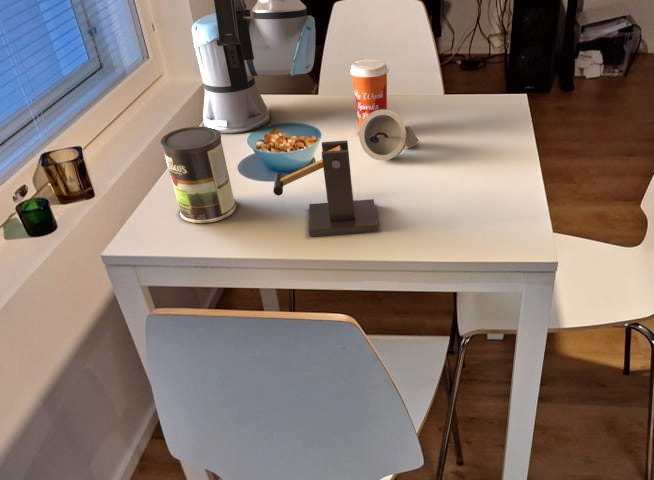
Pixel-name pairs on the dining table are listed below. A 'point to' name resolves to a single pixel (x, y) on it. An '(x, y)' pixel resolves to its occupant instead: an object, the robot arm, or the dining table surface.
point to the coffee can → (199, 174)
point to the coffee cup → (369, 86)
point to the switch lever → (297, 174)
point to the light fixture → (385, 135)
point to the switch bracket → (340, 198)
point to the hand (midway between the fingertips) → (243, 72)
